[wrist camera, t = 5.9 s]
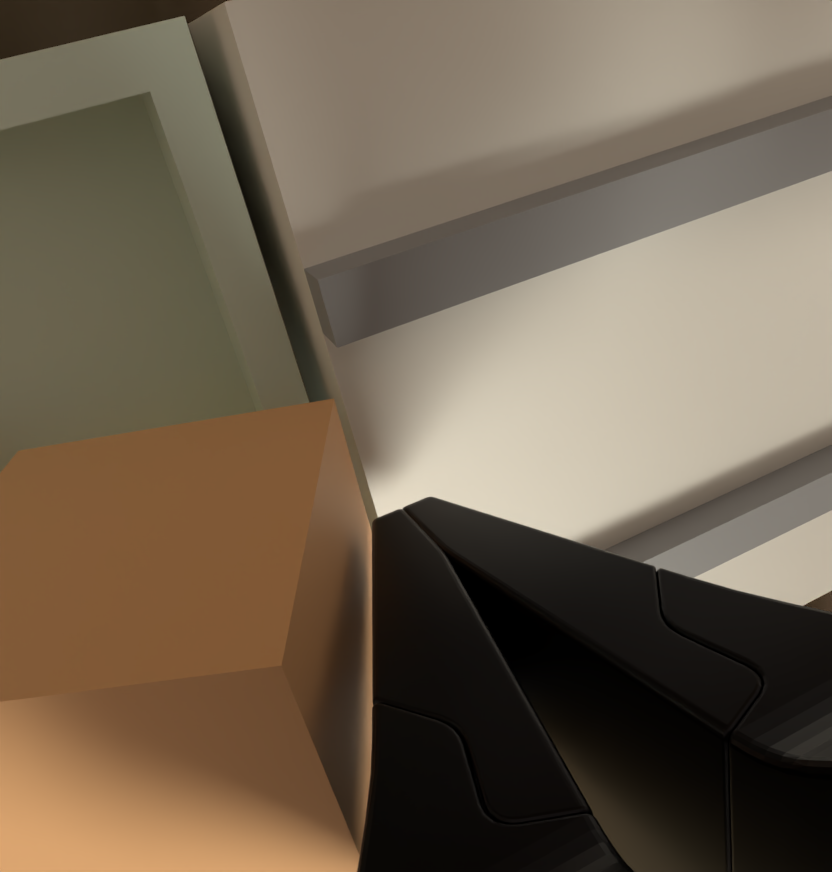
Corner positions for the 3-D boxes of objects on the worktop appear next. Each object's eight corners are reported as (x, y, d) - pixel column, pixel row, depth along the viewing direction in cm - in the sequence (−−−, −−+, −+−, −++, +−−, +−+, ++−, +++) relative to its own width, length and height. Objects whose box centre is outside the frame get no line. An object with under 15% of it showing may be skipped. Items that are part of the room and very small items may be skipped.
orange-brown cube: (400, 636, 11) (392, 934, 8) (139, 669, 11) (22, 968, 8) (333, 398, 9) (280, 665, 6) (18, 450, 9) (-208, 728, 6)
